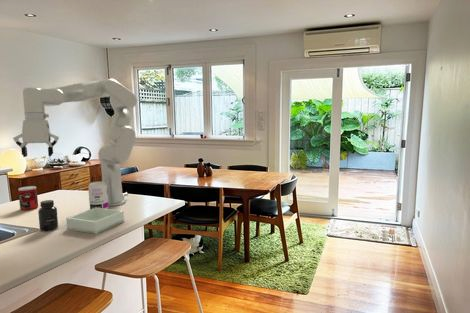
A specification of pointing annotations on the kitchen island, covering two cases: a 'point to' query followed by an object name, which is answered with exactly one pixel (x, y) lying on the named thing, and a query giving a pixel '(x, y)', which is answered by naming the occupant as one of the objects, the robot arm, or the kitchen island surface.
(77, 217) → the bin
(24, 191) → the canned food
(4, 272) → the kitchen island surface
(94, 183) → the supplement can
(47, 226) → the supplement bottle
